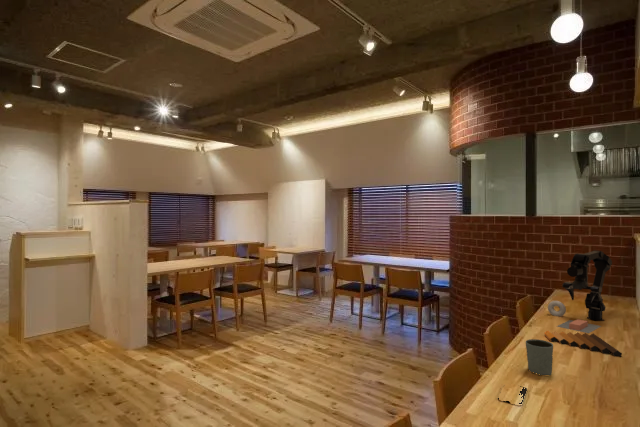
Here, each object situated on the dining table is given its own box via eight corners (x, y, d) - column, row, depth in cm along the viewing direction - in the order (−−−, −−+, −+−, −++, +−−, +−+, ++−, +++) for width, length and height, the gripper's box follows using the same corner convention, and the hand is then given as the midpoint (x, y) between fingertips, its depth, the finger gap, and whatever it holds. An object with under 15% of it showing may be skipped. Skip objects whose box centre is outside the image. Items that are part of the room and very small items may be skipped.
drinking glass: (553, 378, 155) (553, 348, 155) (524, 373, 161) (524, 344, 160) (553, 369, 164) (553, 341, 164) (526, 364, 169) (526, 337, 169)
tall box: (577, 319, 225) (569, 323, 217) (587, 321, 221) (579, 325, 213) (577, 324, 225) (569, 328, 217) (587, 326, 221) (579, 330, 213)
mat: (569, 320, 234) (569, 319, 234) (601, 327, 221) (601, 326, 221) (556, 327, 221) (556, 326, 221) (588, 334, 209) (588, 333, 209)
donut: (566, 317, 241) (566, 301, 241) (565, 318, 238) (565, 302, 238) (548, 314, 248) (548, 299, 248) (547, 315, 246) (546, 299, 245)
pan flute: (622, 358, 177) (597, 340, 201) (622, 350, 177) (597, 333, 201) (561, 353, 183) (544, 336, 207) (561, 346, 183) (544, 330, 207)
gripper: (558, 274, 230) (558, 300, 231) (595, 278, 216) (595, 306, 216) (566, 272, 237) (566, 298, 237) (602, 276, 223) (602, 303, 223)
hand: (581, 301), depth 228 cm, fingers open, 9 cm apart
